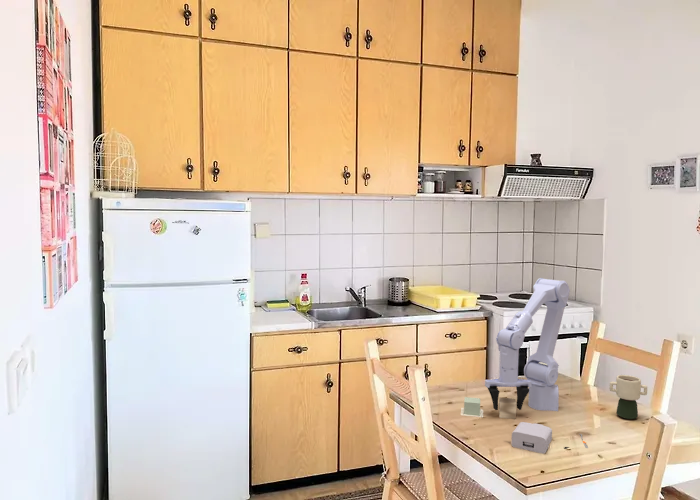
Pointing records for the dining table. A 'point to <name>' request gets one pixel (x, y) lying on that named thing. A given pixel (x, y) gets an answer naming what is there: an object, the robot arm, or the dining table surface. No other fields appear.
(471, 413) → the sage base block
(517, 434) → the charger
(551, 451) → the dining table surface
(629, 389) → the trophy cup
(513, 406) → the maple block
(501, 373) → the robot arm
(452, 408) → the dining table surface
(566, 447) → the key chain
